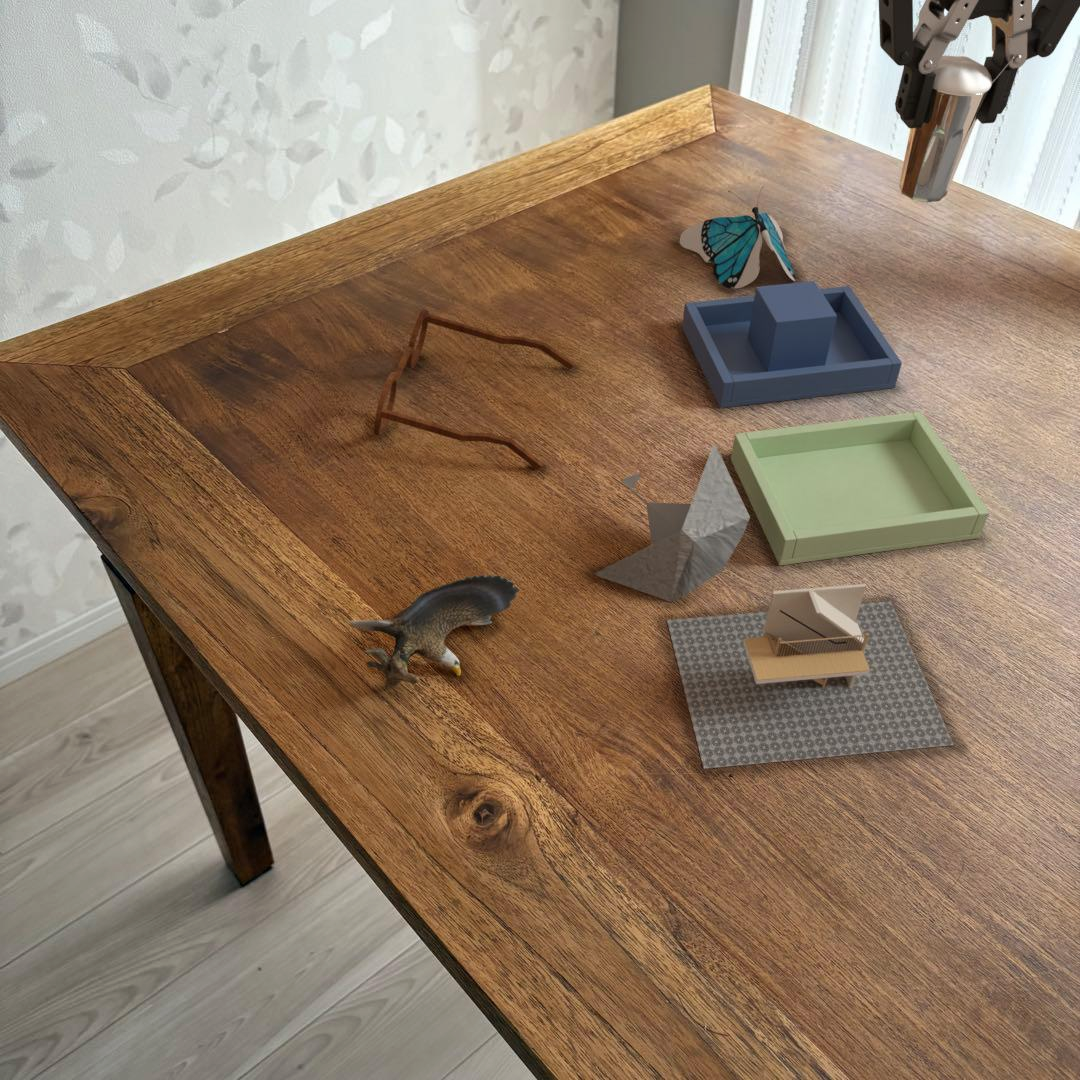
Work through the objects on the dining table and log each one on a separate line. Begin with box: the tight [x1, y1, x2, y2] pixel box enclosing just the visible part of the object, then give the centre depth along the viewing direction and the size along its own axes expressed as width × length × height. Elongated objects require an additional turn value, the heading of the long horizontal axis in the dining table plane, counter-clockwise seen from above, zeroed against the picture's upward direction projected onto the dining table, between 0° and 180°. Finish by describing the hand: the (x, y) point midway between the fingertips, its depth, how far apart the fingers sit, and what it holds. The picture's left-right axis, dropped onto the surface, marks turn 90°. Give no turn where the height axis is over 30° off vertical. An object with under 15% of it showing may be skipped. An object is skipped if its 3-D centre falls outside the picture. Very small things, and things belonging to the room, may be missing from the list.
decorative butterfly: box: [679, 186, 797, 290], centre depth 100 cm, size 10×6×10 cm
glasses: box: [373, 308, 575, 470], centre depth 85 cm, size 13×13×5 cm
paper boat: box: [592, 442, 751, 603], centre depth 74 cm, size 12×6×9 cm
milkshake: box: [898, 55, 1015, 203], centre depth 75 cm, size 4×5×10 cm
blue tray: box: [681, 285, 903, 409], centre depth 91 cm, size 15×11×2 cm
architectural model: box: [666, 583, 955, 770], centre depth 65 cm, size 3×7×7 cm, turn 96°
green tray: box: [730, 411, 990, 566], centre depth 79 cm, size 15×11×2 cm
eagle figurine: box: [348, 574, 520, 690], centre depth 68 cm, size 8×7×9 cm
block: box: [748, 280, 837, 372], centre depth 90 cm, size 5×5×5 cm
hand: (946, 119), depth 74 cm, fingers closed on milkshake, 4 cm apart
